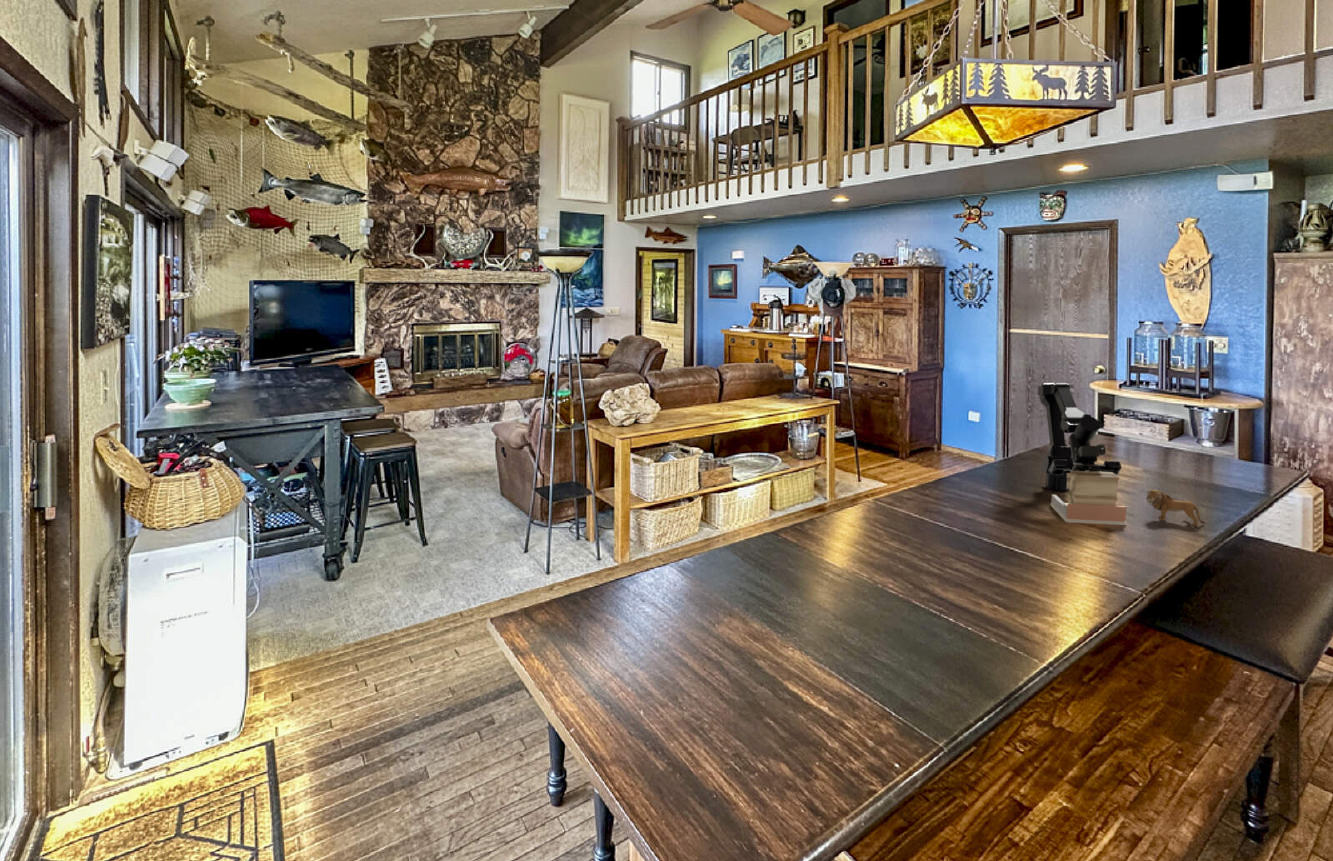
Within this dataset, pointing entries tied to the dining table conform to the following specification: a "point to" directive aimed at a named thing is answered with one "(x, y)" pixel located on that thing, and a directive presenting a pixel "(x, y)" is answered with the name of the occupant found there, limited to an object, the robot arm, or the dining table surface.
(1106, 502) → the cream flanged block
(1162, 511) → the lion figurine
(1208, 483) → the dining table surface
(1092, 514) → the box
